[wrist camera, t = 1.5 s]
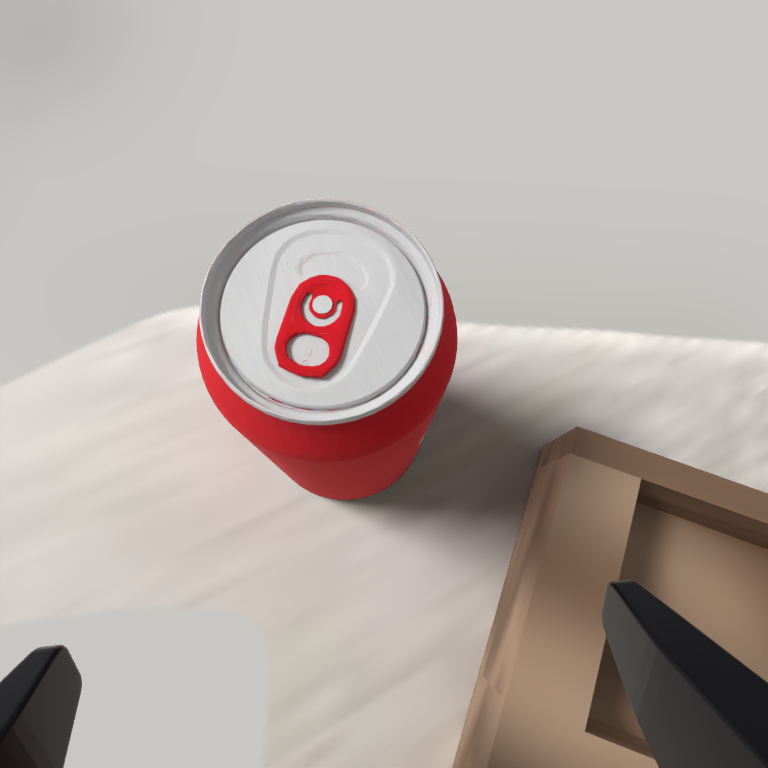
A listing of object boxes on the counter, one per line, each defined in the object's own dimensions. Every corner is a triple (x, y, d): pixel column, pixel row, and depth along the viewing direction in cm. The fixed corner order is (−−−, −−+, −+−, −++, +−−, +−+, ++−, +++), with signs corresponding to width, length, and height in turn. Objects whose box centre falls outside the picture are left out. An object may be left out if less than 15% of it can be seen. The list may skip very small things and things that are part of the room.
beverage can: (435, 376, 24) (497, 213, 12) (400, 519, 22) (434, 485, 11) (296, 340, 24) (231, 149, 13) (251, 478, 22) (125, 402, 11)
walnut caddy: (808, 1016, 18) (928, 1143, 14) (427, 855, 19) (442, 934, 15) (855, 558, 22) (957, 560, 18) (542, 446, 23) (577, 426, 19)
